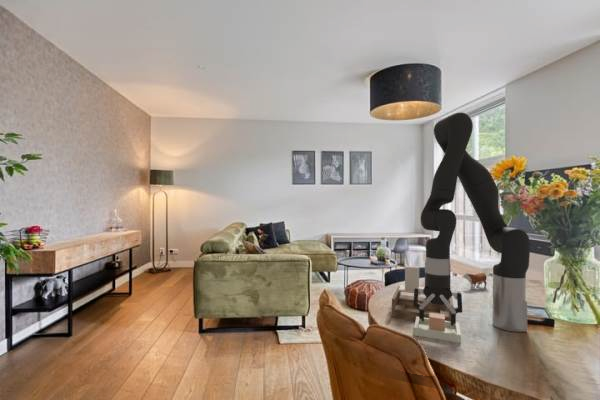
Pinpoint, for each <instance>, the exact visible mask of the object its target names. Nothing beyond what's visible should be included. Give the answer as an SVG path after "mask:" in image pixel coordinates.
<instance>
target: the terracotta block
mask: <svg viewBox="0 0 600 400" xmlns="http://www.w3.org/2000/svg"><path fill="white" fill-rule="evenodd" d="M429 329H432V330H438V331H444V332H445V315H444V314H437V313H430V314H429Z"/></svg>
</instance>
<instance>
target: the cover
mask: <svg viewBox="0 0 600 400" xmlns="http://www.w3.org/2000/svg"><path fill="white" fill-rule="evenodd" d="M399 286H400V288H399V292H401V293H408V294H414V289H415V287H418V288H421V289H424V287H425V286H420V266H412V265H411V266H410V265H405V266H404V284H400V285H399ZM420 295H422V296H423V295H424V293H423V292H422V293H421V294H420ZM424 296H425V295H424Z"/></svg>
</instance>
